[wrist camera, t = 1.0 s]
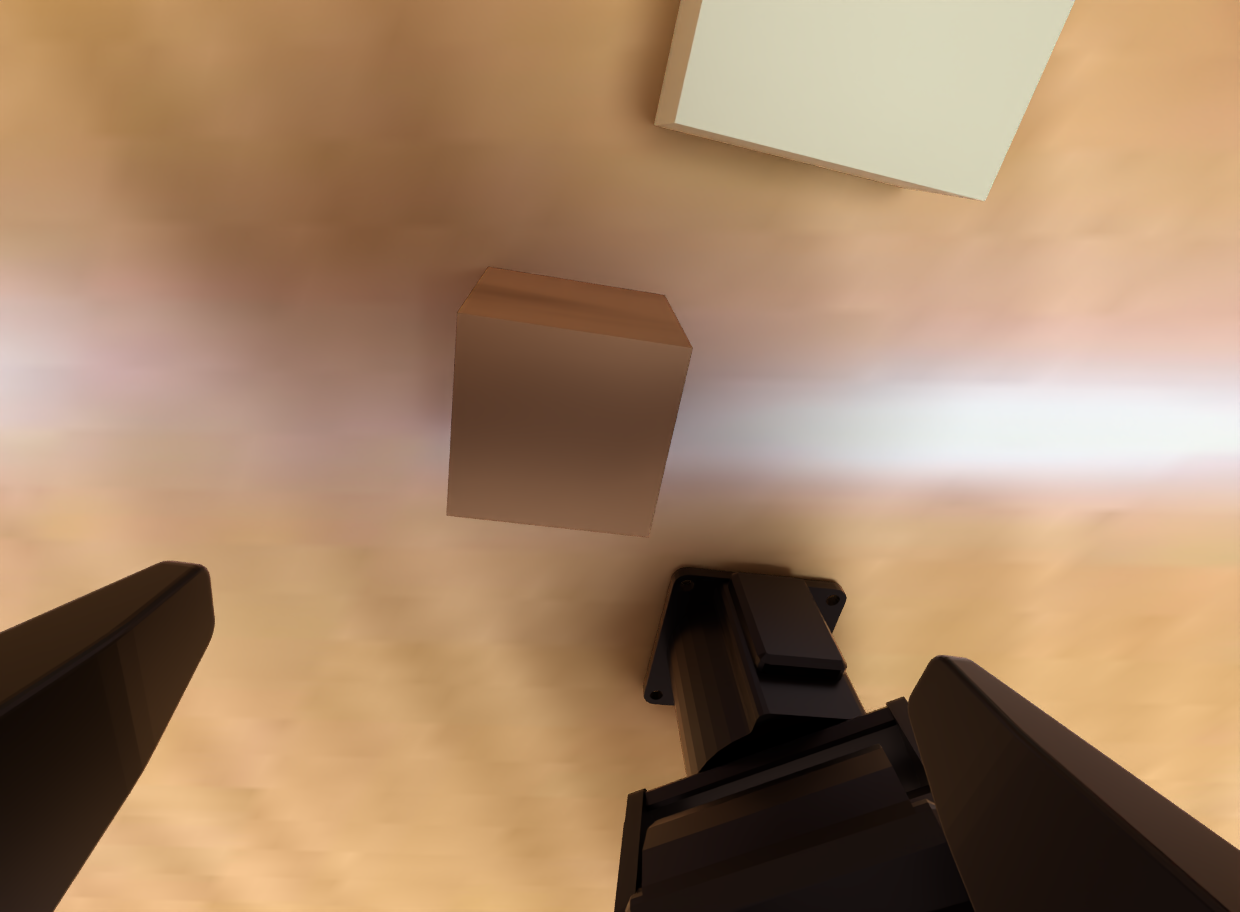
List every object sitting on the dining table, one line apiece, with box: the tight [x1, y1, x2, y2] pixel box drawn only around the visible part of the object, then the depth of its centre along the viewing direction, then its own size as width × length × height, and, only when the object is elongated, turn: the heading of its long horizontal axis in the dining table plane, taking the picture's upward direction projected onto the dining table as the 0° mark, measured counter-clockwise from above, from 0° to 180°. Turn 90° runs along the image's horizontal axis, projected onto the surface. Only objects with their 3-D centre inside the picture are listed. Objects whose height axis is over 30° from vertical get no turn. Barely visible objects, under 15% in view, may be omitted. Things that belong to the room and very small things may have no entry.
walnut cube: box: [447, 267, 693, 538], centre depth 16 cm, size 5×5×5 cm
